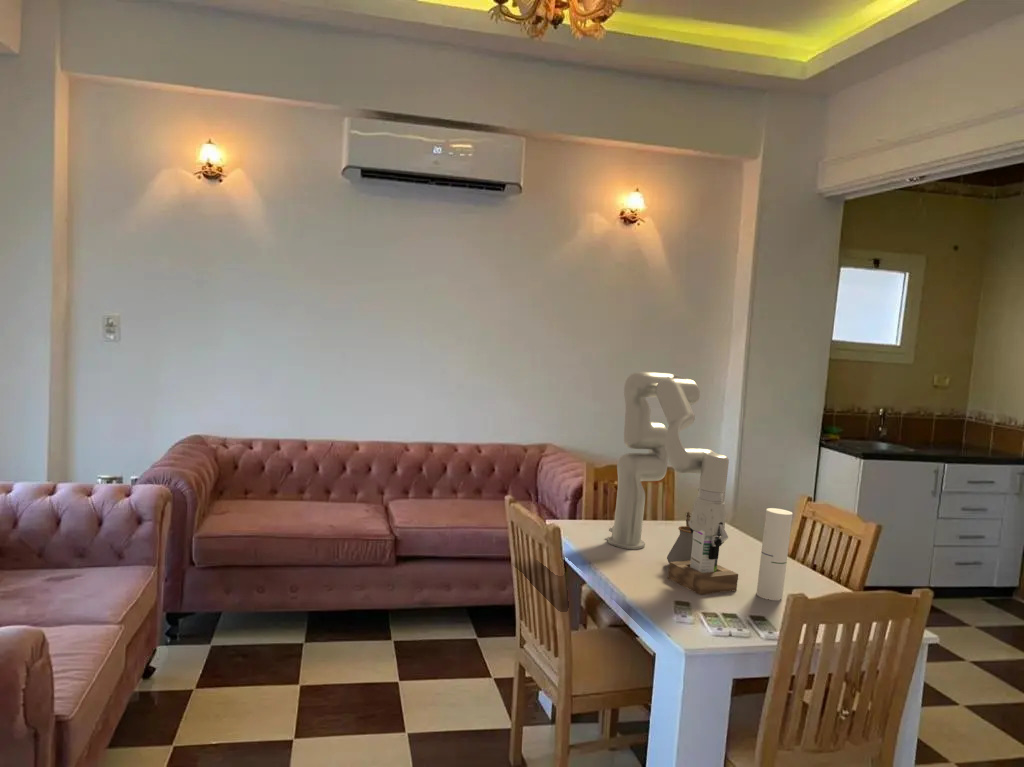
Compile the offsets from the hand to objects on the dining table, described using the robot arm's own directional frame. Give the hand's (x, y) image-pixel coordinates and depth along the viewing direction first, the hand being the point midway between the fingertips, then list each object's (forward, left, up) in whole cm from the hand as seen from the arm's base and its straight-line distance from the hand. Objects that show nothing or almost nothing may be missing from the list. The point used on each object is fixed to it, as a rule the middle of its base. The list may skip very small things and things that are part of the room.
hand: (704, 554), depth 224 cm
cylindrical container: (+13, +14, -9) cm, 21 cm away
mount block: (0, 0, -9) cm, 9 cm away
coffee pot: (-17, +8, -9) cm, 21 cm away
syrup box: (0, 0, -7) cm, 7 cm away
